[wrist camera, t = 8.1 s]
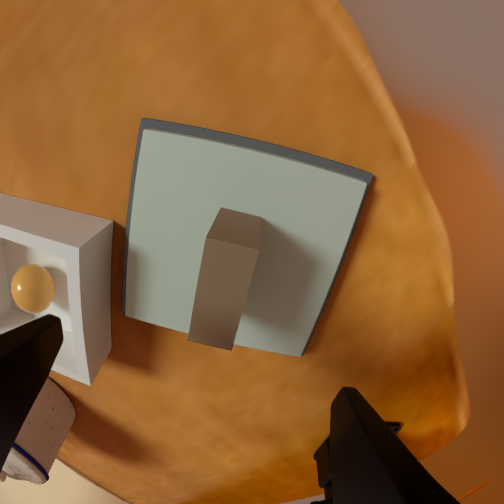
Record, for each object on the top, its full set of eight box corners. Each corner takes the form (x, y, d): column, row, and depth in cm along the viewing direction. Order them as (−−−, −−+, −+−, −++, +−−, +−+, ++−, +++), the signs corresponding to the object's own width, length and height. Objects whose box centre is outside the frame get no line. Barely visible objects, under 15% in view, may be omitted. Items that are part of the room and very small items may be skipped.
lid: (362, 180, 15) (398, 205, 11) (299, 348, 20) (305, 406, 15) (149, 128, 15) (104, 135, 10) (129, 308, 19) (99, 358, 15)
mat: (371, 173, 15) (373, 174, 15) (302, 352, 20) (302, 356, 20) (144, 117, 15) (141, 118, 14) (124, 309, 19) (121, 313, 19)
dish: (113, 220, 17) (79, 248, 13) (111, 348, 21) (90, 385, 17) (-2, 192, 16) (-40, 210, 13) (11, 308, 20) (-15, 335, 17)
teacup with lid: (24, 348, 22) (-40, 438, 12) (94, 413, 25) (52, 509, 14) (-5, 379, 26) (-51, 445, 15) (49, 429, 28) (14, 499, 18)
